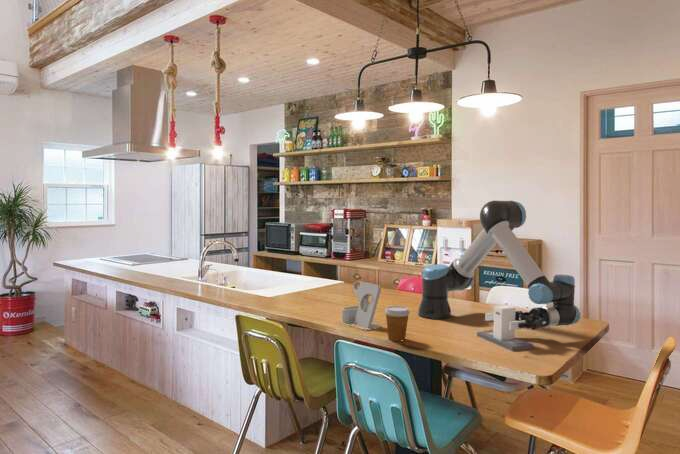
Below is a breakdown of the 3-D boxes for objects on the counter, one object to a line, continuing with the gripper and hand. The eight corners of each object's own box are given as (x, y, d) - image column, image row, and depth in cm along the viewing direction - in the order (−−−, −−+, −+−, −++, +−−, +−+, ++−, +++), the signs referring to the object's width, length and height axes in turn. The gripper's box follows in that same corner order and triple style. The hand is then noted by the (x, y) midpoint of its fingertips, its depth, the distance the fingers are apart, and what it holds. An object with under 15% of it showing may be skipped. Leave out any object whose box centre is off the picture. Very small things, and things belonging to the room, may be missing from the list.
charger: (492, 340, 180) (493, 306, 180) (506, 339, 182) (507, 305, 182) (500, 344, 176) (501, 308, 175) (514, 342, 178) (515, 307, 178)
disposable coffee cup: (406, 335, 191) (407, 305, 191) (411, 342, 182) (411, 311, 181) (382, 335, 191) (383, 305, 190) (385, 342, 181) (386, 311, 181)
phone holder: (339, 322, 211) (339, 281, 210) (357, 319, 218) (357, 279, 217) (365, 331, 198) (365, 287, 197) (383, 327, 204) (384, 285, 203)
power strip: (476, 339, 187) (477, 330, 187) (496, 337, 190) (496, 328, 190) (512, 355, 168) (512, 344, 168) (532, 352, 172) (533, 342, 171)
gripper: (568, 335, 174) (521, 340, 166) (520, 319, 197) (476, 323, 190) (569, 314, 173) (521, 319, 166) (520, 301, 197) (477, 304, 189)
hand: (497, 321), depth 178 cm, fingers open, 13 cm apart
